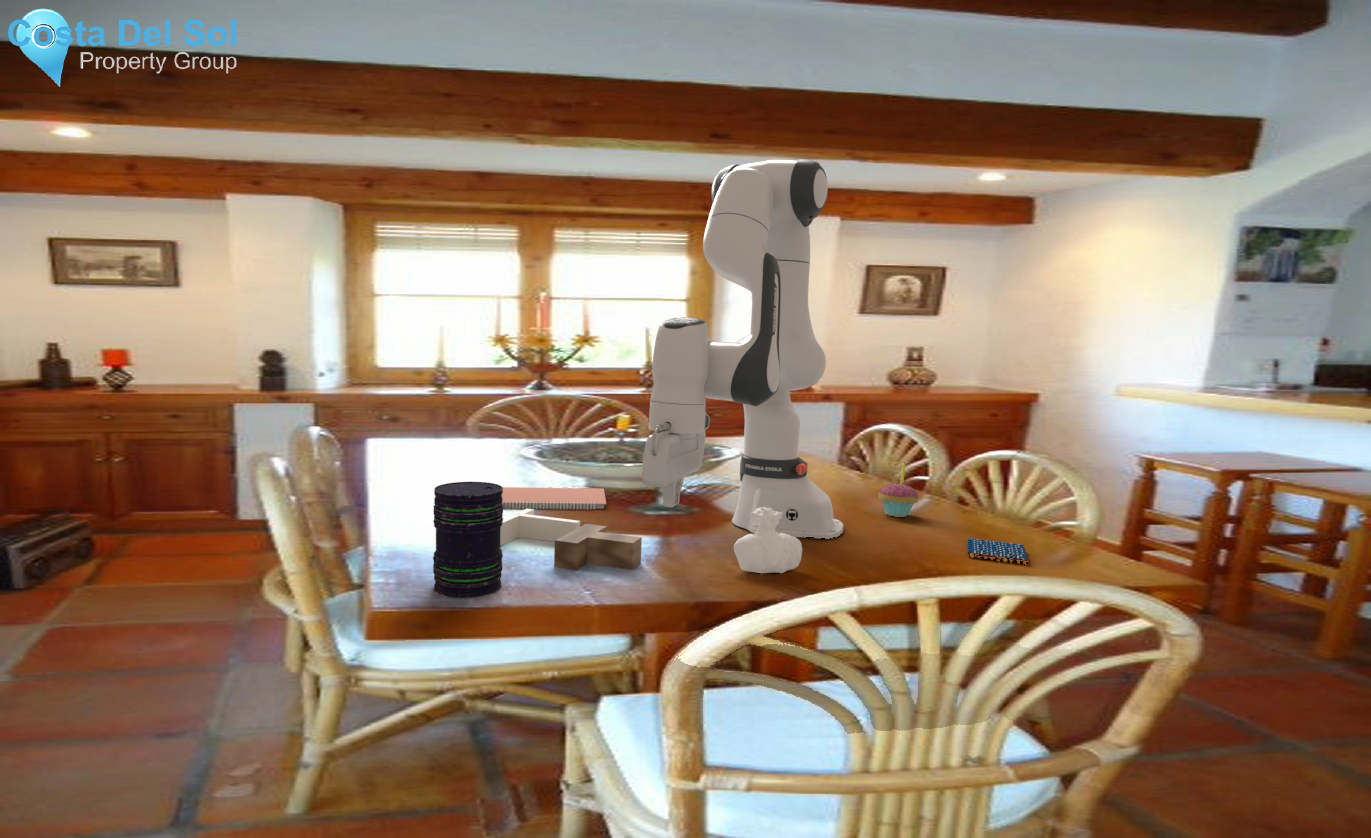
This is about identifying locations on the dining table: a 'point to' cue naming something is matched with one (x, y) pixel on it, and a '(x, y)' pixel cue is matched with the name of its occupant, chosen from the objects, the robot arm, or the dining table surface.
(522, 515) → the corner fence
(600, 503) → the notebook
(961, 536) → the dining table surface
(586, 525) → the t block
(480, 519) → the rusty oil barrel
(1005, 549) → the woven mat
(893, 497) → the cupcake
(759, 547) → the bust
